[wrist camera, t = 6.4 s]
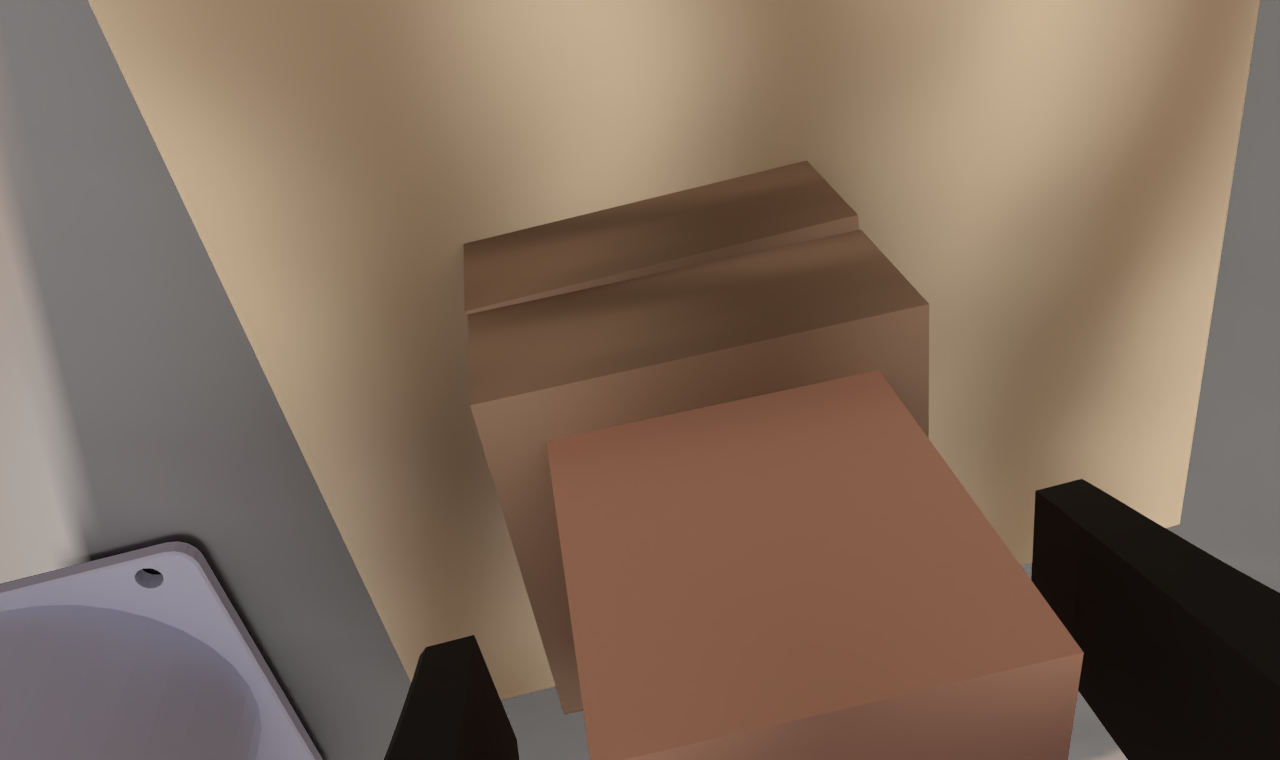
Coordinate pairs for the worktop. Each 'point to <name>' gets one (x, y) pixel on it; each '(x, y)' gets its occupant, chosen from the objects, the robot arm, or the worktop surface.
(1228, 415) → the worktop surface
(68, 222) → the worktop surface
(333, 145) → the board
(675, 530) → the block
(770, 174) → the slab low
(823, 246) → the slab high
